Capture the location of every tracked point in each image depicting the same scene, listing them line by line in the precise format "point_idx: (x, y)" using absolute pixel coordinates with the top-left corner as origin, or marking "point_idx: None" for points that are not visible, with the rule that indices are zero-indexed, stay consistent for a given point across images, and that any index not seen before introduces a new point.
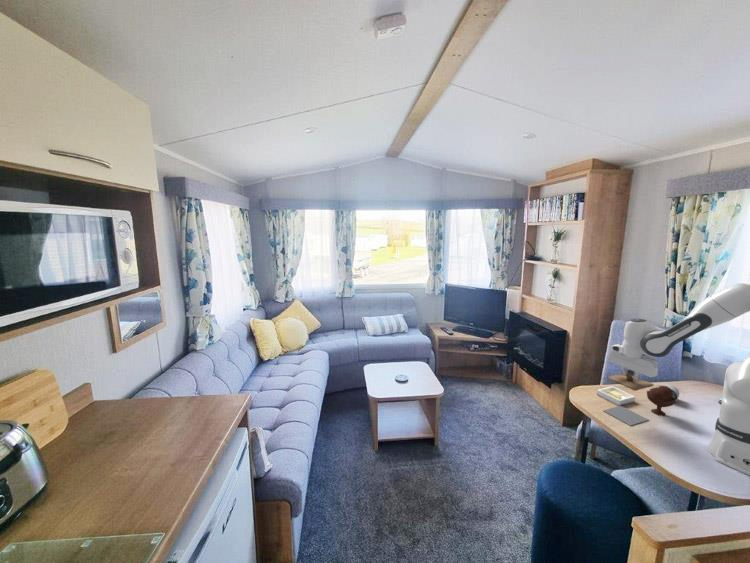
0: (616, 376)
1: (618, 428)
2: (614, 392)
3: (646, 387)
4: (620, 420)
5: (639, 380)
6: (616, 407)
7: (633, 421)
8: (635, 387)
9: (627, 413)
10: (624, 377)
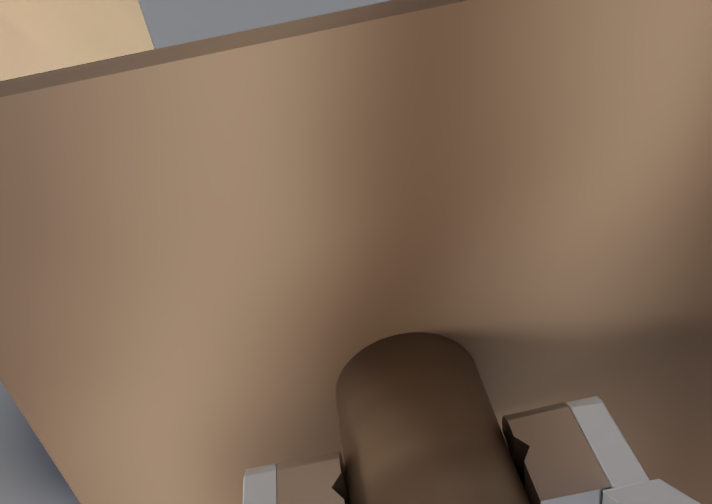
0: (158, 500)
1: None
2: None
3: None
4: None
5: (477, 145)
6: (161, 34)
7: None
8: (678, 486)
9: (301, 14)
10: (228, 383)
